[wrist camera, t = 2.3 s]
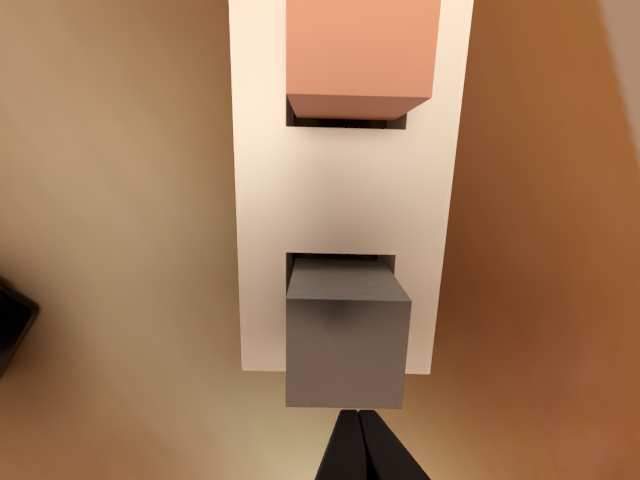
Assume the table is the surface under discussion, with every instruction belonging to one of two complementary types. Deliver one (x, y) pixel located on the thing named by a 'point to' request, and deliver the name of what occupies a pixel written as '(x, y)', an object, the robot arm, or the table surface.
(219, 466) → the table surface
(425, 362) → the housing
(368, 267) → the grey cube
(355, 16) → the terracotta plunger
